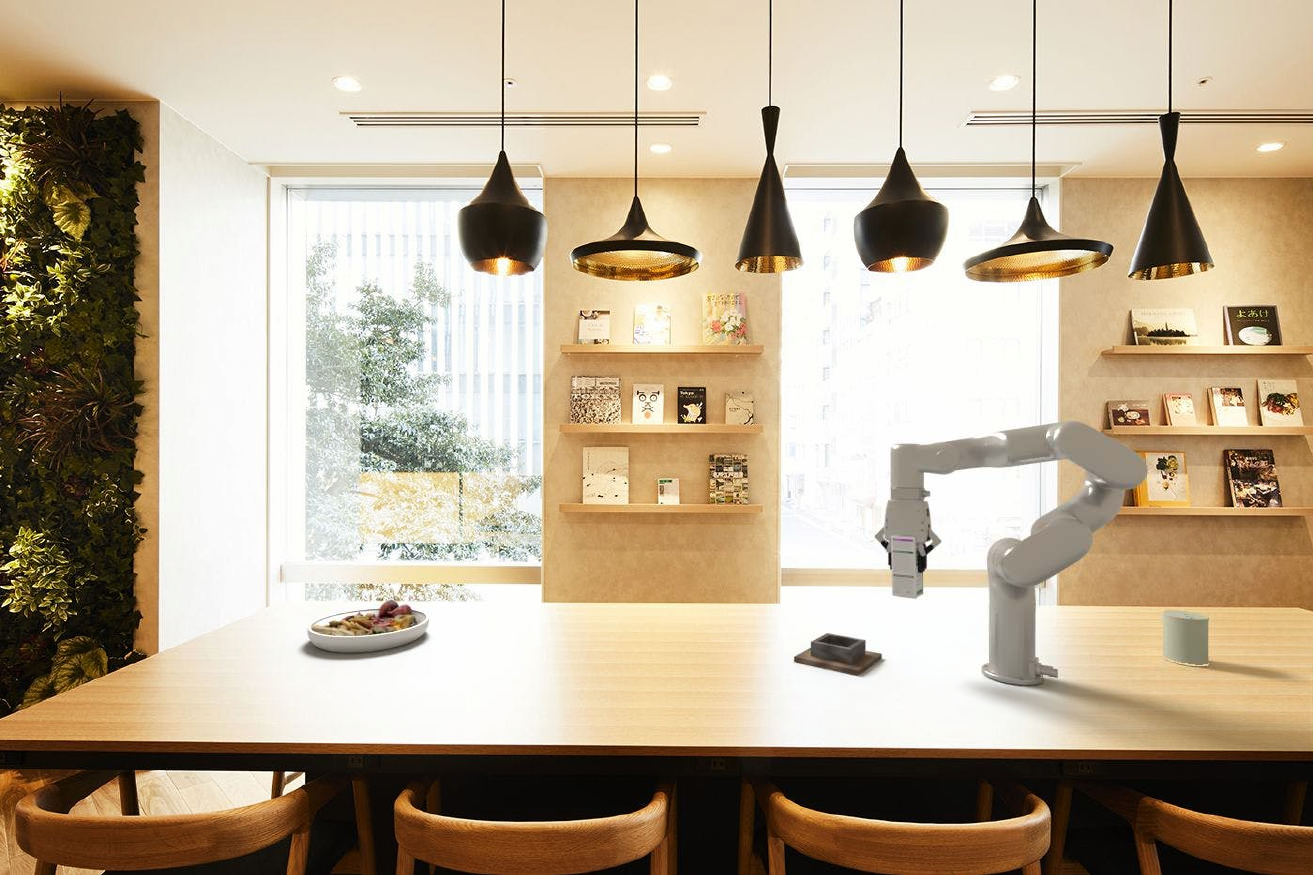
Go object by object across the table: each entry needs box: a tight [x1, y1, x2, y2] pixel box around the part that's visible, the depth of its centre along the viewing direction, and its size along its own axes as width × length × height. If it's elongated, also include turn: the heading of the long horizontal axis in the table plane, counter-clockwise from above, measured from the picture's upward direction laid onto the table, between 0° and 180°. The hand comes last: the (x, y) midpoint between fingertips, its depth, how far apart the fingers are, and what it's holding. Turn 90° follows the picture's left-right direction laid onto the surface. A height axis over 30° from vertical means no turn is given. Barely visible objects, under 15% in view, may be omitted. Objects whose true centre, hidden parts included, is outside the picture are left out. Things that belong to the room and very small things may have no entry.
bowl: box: [307, 599, 430, 654], centre depth 181 cm, size 30×30×8 cm
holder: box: [793, 632, 883, 677], centre depth 165 cm, size 16×16×5 cm
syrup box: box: [891, 535, 924, 599], centre depth 160 cm, size 6×6×14 cm
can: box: [1161, 609, 1210, 665], centre depth 167 cm, size 9×9×12 cm
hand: (907, 569), depth 160 cm, fingers closed on syrup box, 5 cm apart
